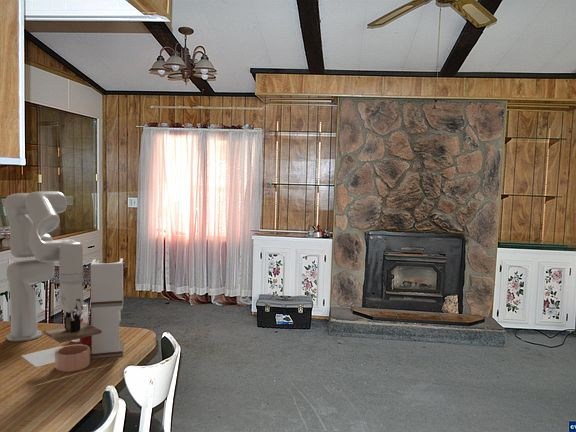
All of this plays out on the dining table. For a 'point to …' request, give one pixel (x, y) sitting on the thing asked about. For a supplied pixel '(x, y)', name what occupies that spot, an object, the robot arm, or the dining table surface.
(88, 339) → the onion
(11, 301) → the robot arm
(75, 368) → the bowl
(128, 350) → the dining table surface
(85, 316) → the beer glass
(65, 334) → the lid
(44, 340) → the dining table surface
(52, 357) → the mat
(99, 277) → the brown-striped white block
